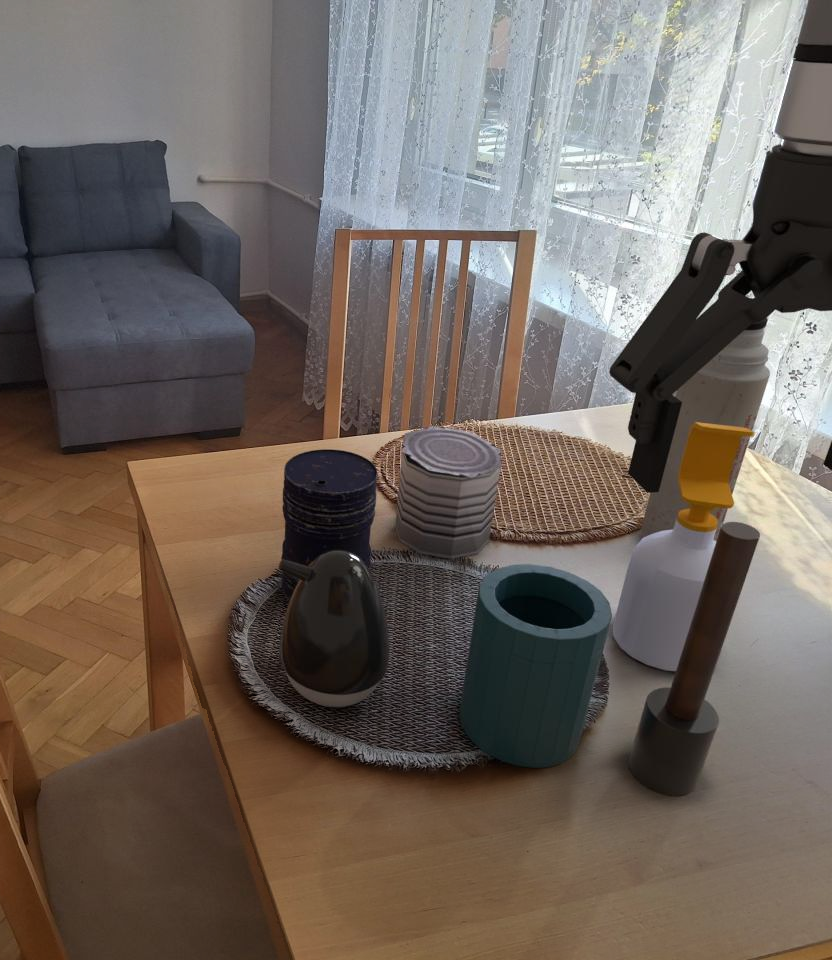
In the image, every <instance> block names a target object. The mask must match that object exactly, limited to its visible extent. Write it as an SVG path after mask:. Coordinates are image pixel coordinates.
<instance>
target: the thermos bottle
mask: <svg viewBox="0 0 832 960" xmlns="http://www.w3.org/2000/svg"><path fill="white" fill-rule="evenodd" d="M768 321H769V319H768V317H767V318H766V319H764V320H762V321H760V322H755V323H752V324H751V325H750V326H749V327H747V328H746V329H745V330H744V331H743V332H742V333H741V334H740V335H738V336H737V337H736V338H735V339H734V340H733V341H732V342H731V343H729V344H728V345H727V346H726V347H725V348H724V349H723V350H722V351H721V352H719V353H718V354H717V355H716V356H715V357H714V358H713V359H712V360H710V361H709V362H708V363H707V364H706V365H705V366H704V367H703V368H701V369H700V370H699V371H698V372H697V373H696V374H695V375H694V376H692V377H691V378H690V379H689V380H688V381H687V382H686V383H685V384H684V385H682V386H681V387H680V388H679V389H678V390H677V391H676V392H675V397H676V398H677V399H679V400H680V401H681V402H682V405H681V409H680V413H679V417H678V421H677V424H676V428H675V432H674V436H673V439H672V443H671V447H670V451H669V455H668V458H667V462H666V466H665V470H664V474H663V477H662V481H661V485H660V489H659V492H653V493H649V497H648V500H647V504H646V508H645V511H644V515H643V519H642V523H641V527H640V531H639V538H640V541H641V540H642V539H643V538H644V537H646V536H649V535H651V534H653V533H657V532H660V531H665V530H673V529H674V526H675V522H676V518H677V517H678V514H679V512H680V511H681V510H684V509H690V507H691V505H689V504H688V503H687V502H685V501H683V500H682V498H681V493H680V488H679V483H678V475H679V469H680V465H681V461H682V458H683V454H684V450H685V447H686V443H687V439H688V436H689V432H690V429H691V426H692V424H693V423H694V422H700V423H708V424H717V425H726V426H735V427H744V428H748V429H750V430H751V431H753V430H754V427H755V425H756V422H757V417H758V414H759V411H760V408H761V405H762V401H763V399H764V396H765V392H766V389H767V385H768V382H769V379H770V376H771V370H770V369H769V368H768V367H767V366H766V363H767V362H768V361H769V357H768V356H769V349H768V346H766V345H764V343H763V339H764V336H765V328H767V327H766V326H767V324H768ZM751 438H752V437H751V436H742V438H741V440H740V443H739V446H738V450H737V453H736V456H735V459H734V463H733V466H732V469H731V473H730V477H729V487H730V490H731V494H732V495H733V494H734V490H735V487H736V484H737V481H738V478H739V474H740V471H741V468H742V465H743V462H744V459H745V456H746V452H747V449H748V447H749V443H750V440H751ZM728 509H729V508H728ZM728 509H725V508H718V509H716V510H711V512H710V514H712V515H713V516H715V517H716V518H717V520H718V524H717V529H716V532H715V535H714V539H713V540H715V541H717V538H718V535H719V531H720V528H721V526H722V524H724V523H725V519H726V516H727V513H728Z"/></svg>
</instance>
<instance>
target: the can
mask: <svg viewBox="0 0 832 960" xmlns="http://www.w3.org/2000/svg"><path fill="white" fill-rule="evenodd" d="M399 469H400V470H399V480H398V481H399V482H398V489H397V490H398V491H397V499H396V501H397V502H396V511H395V521H394V526H395V531H396V535H397V538H398V541H399V542H400V543H401V544H403V545H405V546H407V547H408V548H410V549H411V550H414V551H415V552H417V553H418V554H420V555H422V556H423V555H424V556H429V557H436V558H441V559H447V560H454V559H458V558H460V559H461V558H464V557H470V556H474V555H478V554H479V553H480V552H481V551H482V550H483V548H485V546H486V545H487V544H488V543H489V542H490V537H491V531H492V524H493V519H494V512H495V506H496V500H497V495H498V488H499V487H498V486H499V480H500V474H501V469H502V449H501V448H500V447H498V446H496V445H495V444H493V443H492V442H490V441H488V440H486V439H485V438H483V437H481V436H480V435H478V434H476V433H475V432H473V431H469V430H462V429H457V428H450V427H444V426H437V425H432V426H427V427H425V428H420V429H417V430H412V431H408V432H405V433H404V436H403V442H402V448H401V458H400V468H399Z"/></svg>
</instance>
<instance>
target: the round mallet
mask: <svg viewBox="0 0 832 960" xmlns="http://www.w3.org/2000/svg"><path fill="white" fill-rule="evenodd" d="M760 538H761V533H760V531H759V530H758V529H757V528H755V527H754V526H752V525H749V524H746V523H744V522H739V521H726V522H723V524H722V526H721V528H720V531H719V535H718V538H717V541H716V544H715V547H714V551H713V554H712V557H711V560H710V564H709V567H708V570H707V573H706V576H705V580H704V583H703V586H702V589H701V592H700V596H699V599H698V602H697V605H696V608H695V612H694V615H693V618H692V621H691V624H690V628H689V631H688V634H687V637H686V640H685V644H684V647H683V650H682V653H681V656H680V660H679V663H678V666H677V669H676V671H675V672H674V675H673V678H672V682H671V686H670V687H668V686H667V687H659V688H656V689H653V690H652V691H650V692H649V694H647V696H646V698H645V702H644V705H643V709H642V712H641V716H640V719H639V722H638V726H637V729H636V733H635V735H634V739H633V743H632V746H631V749H630V753H629V756H628V759H627V764H628V769H629V770H630V772H631V774H632V775H633V777H634V778H635V779H636V780H637V781H638V782H639V783H640V784H642V785H643V786H645V787H646V788H648V789H650V790H651V791H654V792H656V793H659V794H661V795H665V796H670V797H671V796H672V797H679V796H680V797H681V796H687V795H689V794H691V793H692V792H693V791H694V790H696V788H697V785H698V782H699V780H700V776H701V774H702V771H703V768H704V766H705V763H706V760H707V757H708V755H709V752H710V750H711V747H712V743H713V741H714V738H715V735H716V732H717V730H718V727H719V723H720V717H719V714H718V712H717V710H716V709H715V707H714V706H713V705H712V704H711V703H710V702H708V701H707V700H706V697H707V694H708V690H709V688H710V684H711V682H712V678H713V675H714V673H715V670H716V667H717V664H718V661H719V659H720V655H721V652H722V649H723V646H724V643H725V640H726V637H727V634H728V632H729V629H730V625H731V623H732V620H733V616H734V613H735V611H736V608H737V605H738V602H739V599H740V595H741V593H742V591H743V587H744V585H745V582H746V578H747V576H748V573H749V569H750V567H751V564H752V562H753V558H754V555H755V552H756V549H757V547H758V543H759V541H760Z"/></svg>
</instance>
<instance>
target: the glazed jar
mask: <svg viewBox="0 0 832 960" xmlns="http://www.w3.org/2000/svg"><path fill="white" fill-rule="evenodd" d="M612 617H613V613H612V607H611V603H610V601H609V599H607V597H606V596H605V595H604V593H603V592H602V591H601V590H600V589H599V588H598V587H596V585H594V584H592V583H591V582H590V581H588V580H586V579H585V578H582V577H581V576H578V575H576V574H574V573H572V572H569V571H567V570H563V569H560V568H556V567H553V566H548V565H539V564H533V563H525V564H524V563H523V564H522V563H521V564H511V565H507V566H504V567H499V568H496V569H494V570H493V571H491V572H489V573H488V574H486V575H485V576H484V577H483V579H482V580H481V582H480V583H479V584H478V591H477V596H476V604H475V610H474V616H473V623H472V629H471V633H470V634H471V635H470V641H469V648H468V655H467V660H466V666H465V673H464V679H463V685H462V692H461V698H460V708H459V720H460V725H461V727H462V729H463V731H464V733H465V734H466V736H467V738H469V740H470V741H471V742H472V743H473V744H474V745H475V746H476V747H478V749H480V750H482V751H483V752H484V753H486V754H487V755H489V756H490V757H492V758H494V759H497V760H499V761H501V762H504V763H506V764H509V765H513V766H517V767H522V768H529V769H530V768H531V769H542V768H550V767H554V766H557V765H560V764H562V763H564V762H566V761H568V760H569V759H570V758H571V757H572V756H574V754H575V753H576V752H577V749H578V747H579V745H580V740H581V738H582V735H583V730H584V727H585V723H586V719H587V716H588V713H589V708H590V705H591V704H590V703H591V700H592V696H593V692H594V688H595V684H596V680H597V676H598V674H599V673H598V672H599V668H600V664H601V660H602V656H603V652H604V648H605V644H606V641H607V637H608V633H609V630H610V626H611V621H612Z"/></svg>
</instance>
